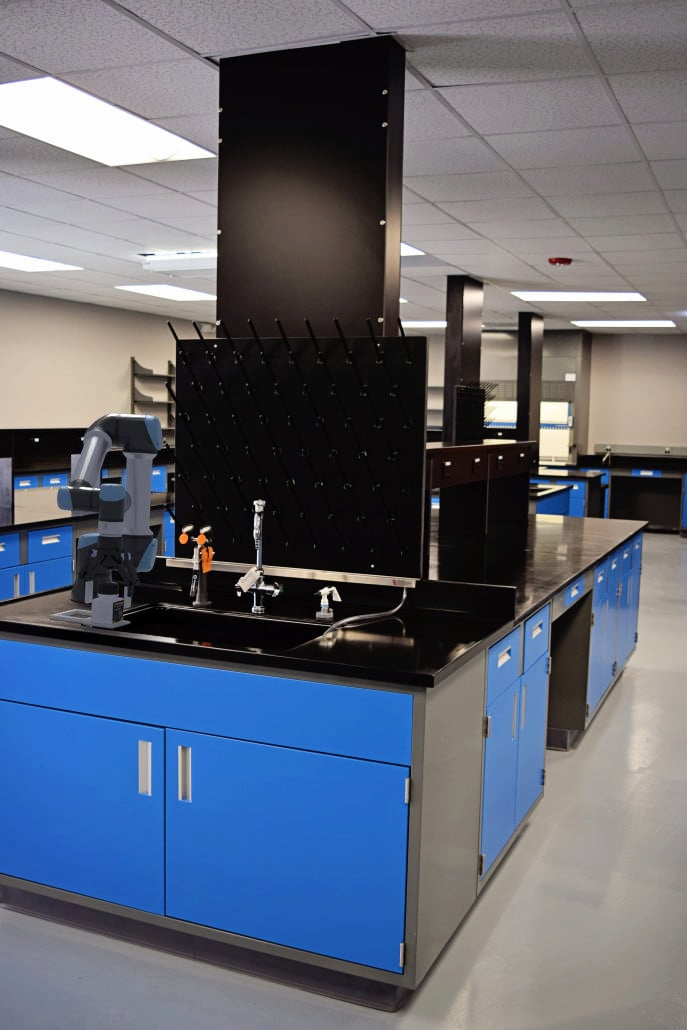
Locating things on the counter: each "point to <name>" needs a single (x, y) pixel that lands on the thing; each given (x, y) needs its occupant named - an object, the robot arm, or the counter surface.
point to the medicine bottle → (107, 604)
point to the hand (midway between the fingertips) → (107, 605)
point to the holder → (66, 617)
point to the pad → (106, 624)
